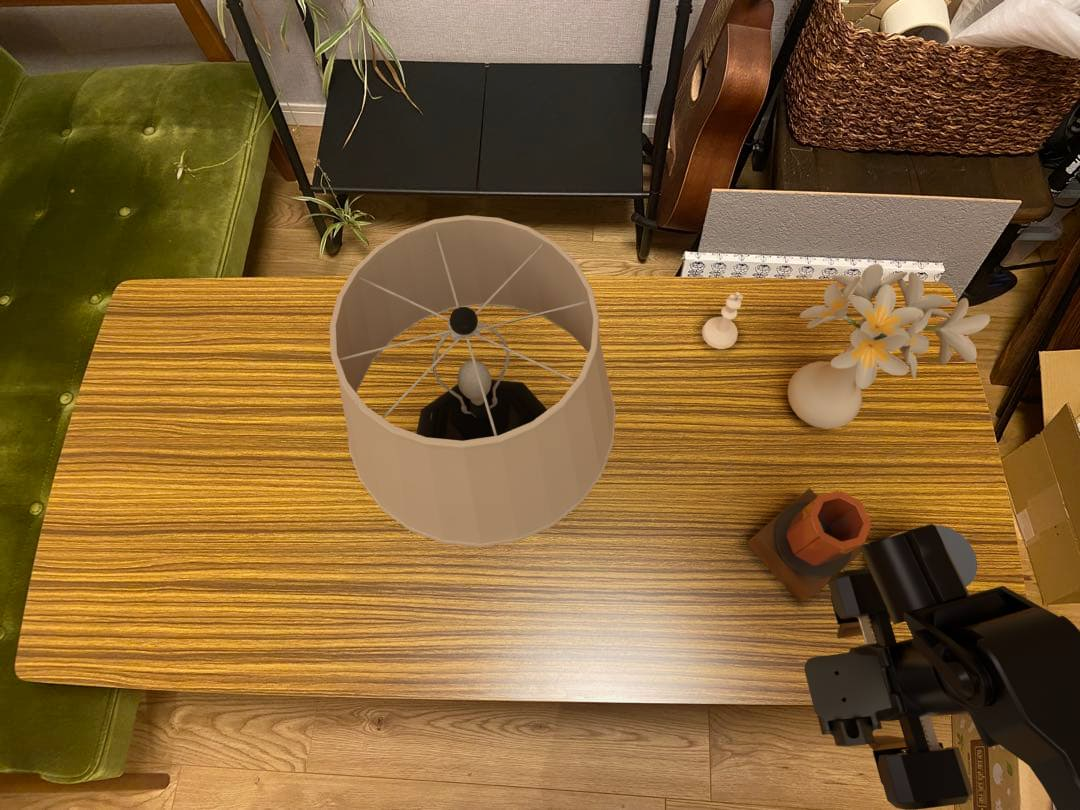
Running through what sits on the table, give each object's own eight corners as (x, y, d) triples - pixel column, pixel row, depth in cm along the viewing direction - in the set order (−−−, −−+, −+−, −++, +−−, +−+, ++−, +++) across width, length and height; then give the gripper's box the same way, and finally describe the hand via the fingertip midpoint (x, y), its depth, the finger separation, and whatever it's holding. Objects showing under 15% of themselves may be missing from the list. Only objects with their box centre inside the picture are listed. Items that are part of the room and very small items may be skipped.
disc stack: (958, 580, 85) (1003, 564, 76) (910, 628, 82) (950, 617, 74) (899, 523, 88) (936, 501, 79) (851, 567, 85) (884, 550, 77)
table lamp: (563, 365, 97) (576, 146, 61) (630, 552, 86) (694, 419, 50) (369, 417, 94) (262, 217, 57) (413, 618, 83) (314, 528, 47)
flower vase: (902, 438, 92) (1020, 342, 70) (766, 456, 91) (840, 365, 69) (868, 352, 98) (968, 237, 75) (739, 368, 97) (801, 257, 74)
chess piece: (738, 349, 98) (759, 310, 89) (703, 348, 98) (720, 309, 89) (735, 319, 100) (754, 277, 91) (700, 318, 100) (716, 277, 91)
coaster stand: (850, 556, 86) (870, 545, 81) (799, 603, 83) (816, 594, 78) (796, 500, 89) (811, 486, 84) (745, 544, 86) (758, 532, 81)
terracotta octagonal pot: (848, 529, 82) (878, 509, 74) (829, 574, 79) (858, 558, 72) (799, 503, 83) (824, 482, 76) (779, 547, 81) (803, 529, 73)
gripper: (803, 562, 57) (750, 596, 71) (873, 829, 49) (798, 807, 63) (936, 548, 57) (858, 584, 72) (1027, 809, 50) (919, 792, 64)
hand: (855, 686), depth 68 cm, fingers open, 9 cm apart
